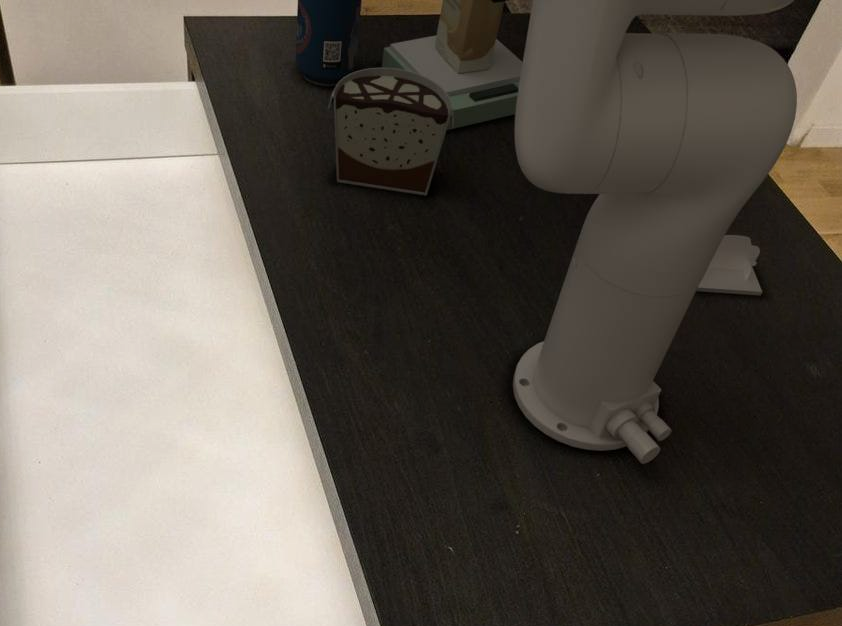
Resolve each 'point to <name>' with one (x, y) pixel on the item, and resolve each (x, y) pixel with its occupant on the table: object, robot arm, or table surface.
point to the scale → (463, 79)
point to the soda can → (327, 39)
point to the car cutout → (732, 268)
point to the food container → (389, 129)
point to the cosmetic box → (468, 33)
